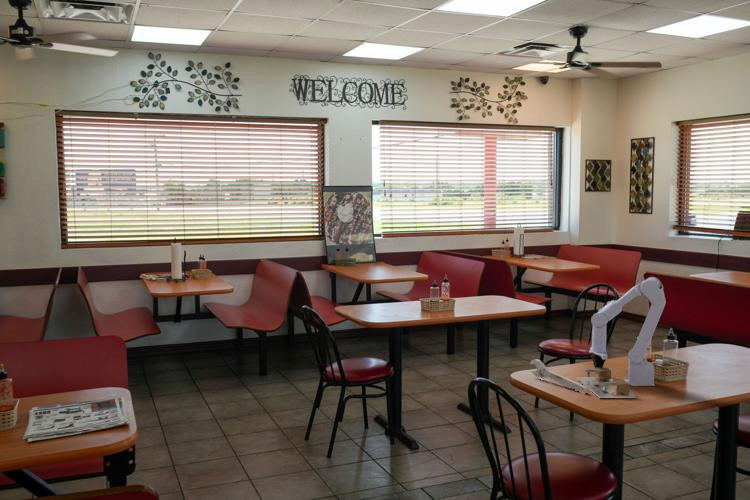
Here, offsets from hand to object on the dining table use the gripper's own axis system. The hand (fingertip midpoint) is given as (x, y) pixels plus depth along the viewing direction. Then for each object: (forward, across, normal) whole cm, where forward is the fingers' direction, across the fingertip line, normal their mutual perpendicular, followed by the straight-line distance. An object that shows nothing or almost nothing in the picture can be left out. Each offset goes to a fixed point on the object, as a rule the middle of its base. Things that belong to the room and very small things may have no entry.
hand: (598, 372), depth 285 cm
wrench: (+3, +10, -20) cm, 23 cm away
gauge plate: (+2, +15, -3) cm, 16 cm away
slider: (+1, +5, -3) cm, 6 cm away
